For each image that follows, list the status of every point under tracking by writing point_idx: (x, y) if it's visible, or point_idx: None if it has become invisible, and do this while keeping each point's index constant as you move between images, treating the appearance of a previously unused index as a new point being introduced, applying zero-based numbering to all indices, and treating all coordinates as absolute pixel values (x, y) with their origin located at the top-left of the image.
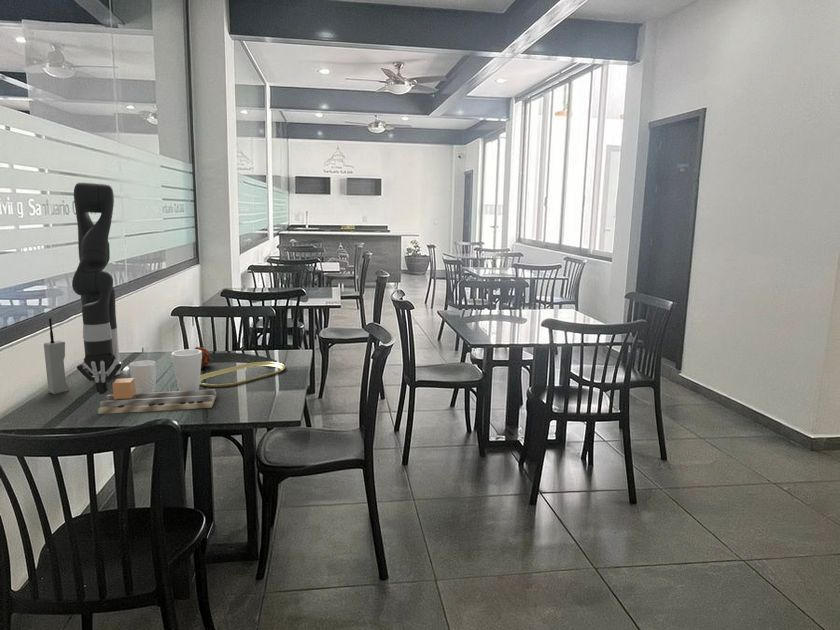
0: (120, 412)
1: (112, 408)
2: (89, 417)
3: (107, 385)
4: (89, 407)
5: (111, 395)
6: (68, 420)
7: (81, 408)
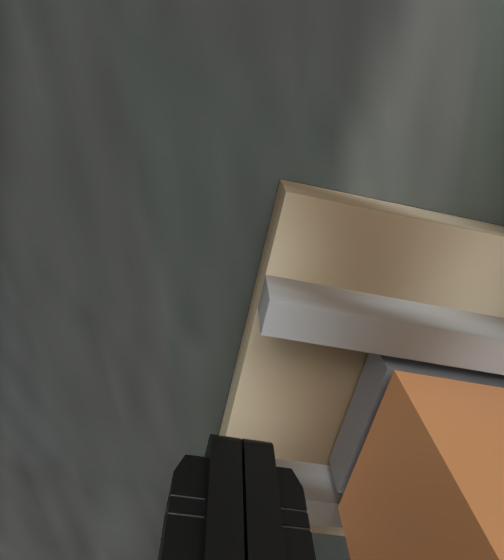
0: None
1: (312, 532)
2: (155, 526)
3: (307, 556)
4: (97, 297)
5: (314, 341)
6: (25, 540)
7: (28, 302)
